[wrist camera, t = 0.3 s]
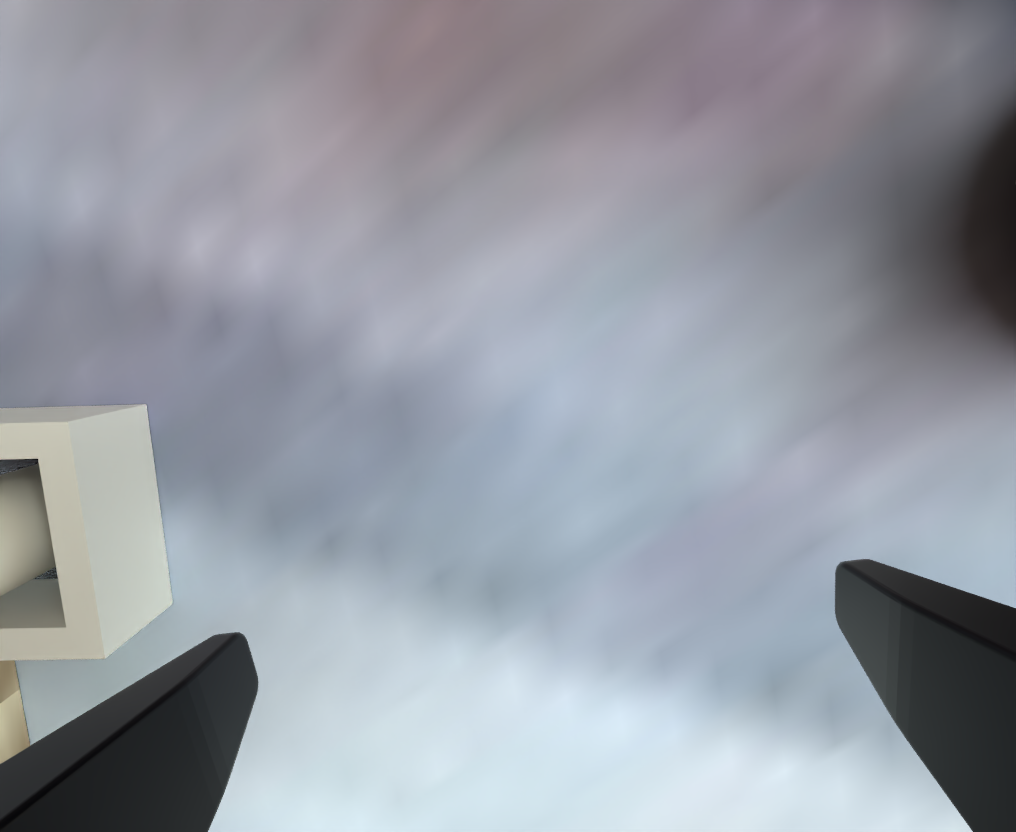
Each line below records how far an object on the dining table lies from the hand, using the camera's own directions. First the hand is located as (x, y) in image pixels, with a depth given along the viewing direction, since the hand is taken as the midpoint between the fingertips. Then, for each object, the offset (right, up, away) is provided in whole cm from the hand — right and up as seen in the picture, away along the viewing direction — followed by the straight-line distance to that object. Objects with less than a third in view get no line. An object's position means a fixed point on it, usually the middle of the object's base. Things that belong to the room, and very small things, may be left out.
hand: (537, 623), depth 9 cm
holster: (-19, -1, +15) cm, 24 cm away
